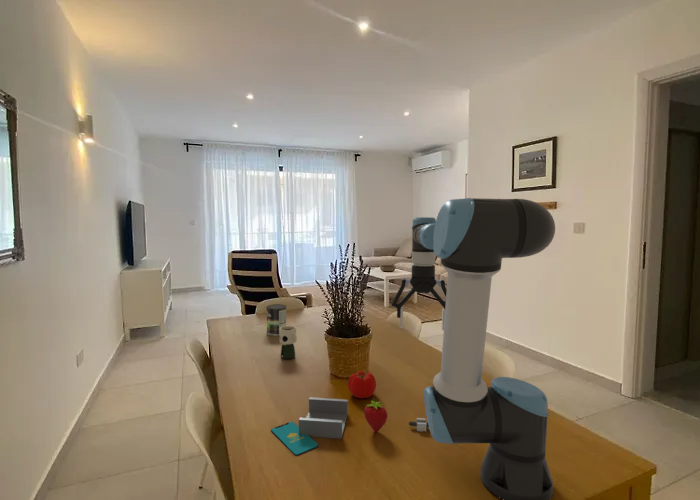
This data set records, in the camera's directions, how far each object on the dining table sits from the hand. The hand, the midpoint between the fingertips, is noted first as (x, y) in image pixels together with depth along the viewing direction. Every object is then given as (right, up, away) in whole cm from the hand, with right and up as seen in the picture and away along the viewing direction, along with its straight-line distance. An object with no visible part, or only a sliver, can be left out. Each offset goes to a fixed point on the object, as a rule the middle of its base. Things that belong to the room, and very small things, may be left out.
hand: (422, 328), depth 127 cm
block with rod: (-3, -25, -17) cm, 31 cm away
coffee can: (-62, -18, +75) cm, 99 cm away
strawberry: (-17, -26, -18) cm, 36 cm away
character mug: (-51, -21, +39) cm, 67 cm away
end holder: (-31, -25, -15) cm, 43 cm away
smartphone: (-39, -26, -22) cm, 52 cm away
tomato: (-20, -24, +4) cm, 31 cm away
